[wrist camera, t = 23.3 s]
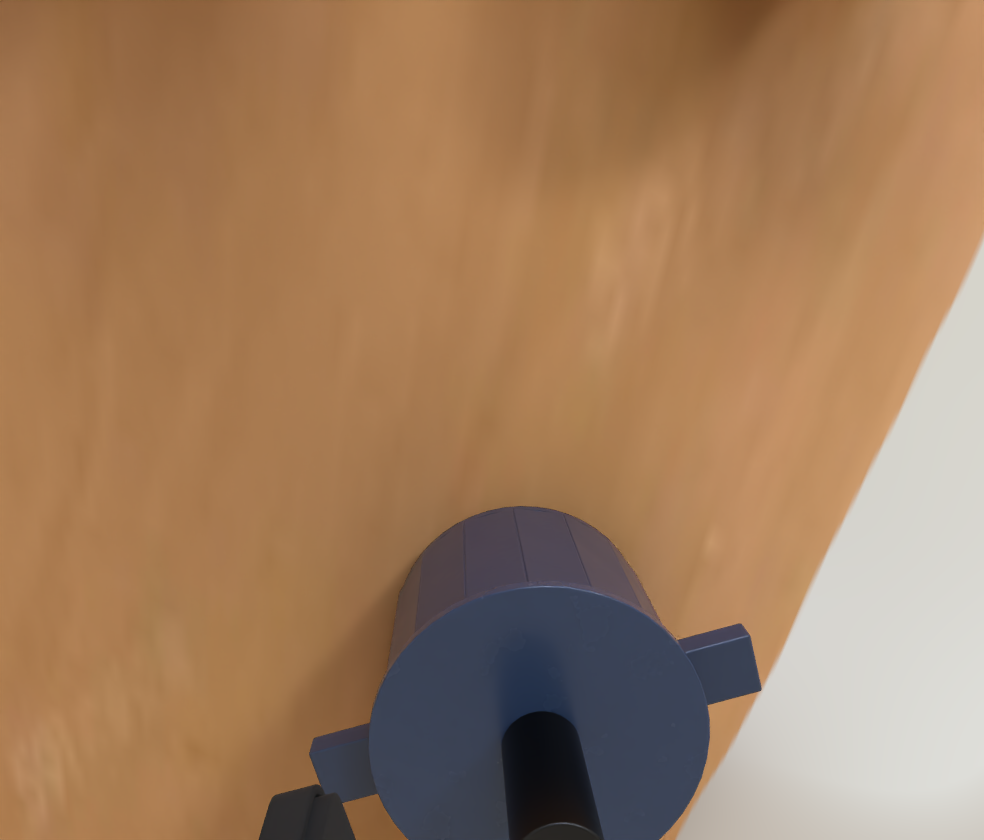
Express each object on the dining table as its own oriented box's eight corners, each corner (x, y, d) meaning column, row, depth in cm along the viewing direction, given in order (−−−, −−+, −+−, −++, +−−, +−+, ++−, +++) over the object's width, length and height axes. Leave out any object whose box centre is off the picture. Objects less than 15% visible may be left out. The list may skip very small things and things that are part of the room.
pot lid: (327, 624, 28) (287, 741, 21) (662, 533, 28) (724, 624, 21) (425, 900, 31) (417, 1076, 24) (729, 819, 30) (803, 975, 24)
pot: (307, 559, 36) (262, 657, 27) (668, 460, 35) (733, 530, 27) (382, 770, 38) (362, 918, 30) (718, 680, 38) (792, 804, 30)
